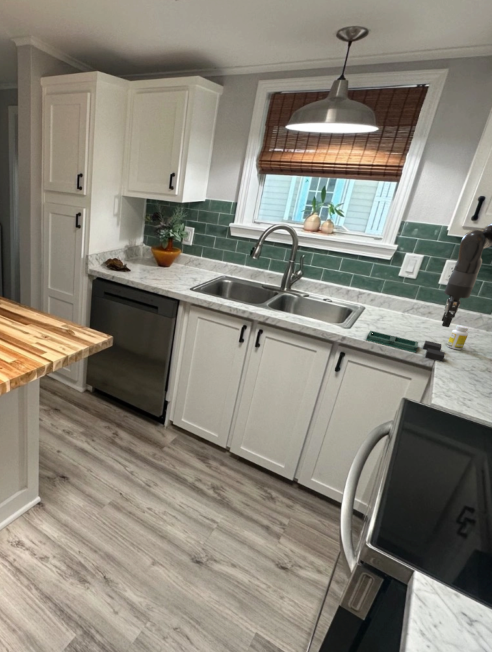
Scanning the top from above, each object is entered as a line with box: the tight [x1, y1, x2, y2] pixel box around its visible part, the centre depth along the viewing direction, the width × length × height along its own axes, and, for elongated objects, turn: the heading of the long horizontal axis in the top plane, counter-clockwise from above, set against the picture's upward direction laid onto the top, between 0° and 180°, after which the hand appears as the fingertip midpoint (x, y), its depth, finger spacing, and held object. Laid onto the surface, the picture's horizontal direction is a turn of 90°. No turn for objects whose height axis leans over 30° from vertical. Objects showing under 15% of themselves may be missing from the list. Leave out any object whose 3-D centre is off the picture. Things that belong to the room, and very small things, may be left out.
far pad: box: [422, 340, 442, 351], centre depth 173 cm, size 6×6×3 cm
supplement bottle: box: [446, 324, 469, 351], centre depth 177 cm, size 5×5×10 cm
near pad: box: [424, 348, 445, 362], centre depth 164 cm, size 6×6×3 cm
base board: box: [365, 330, 419, 354], centre depth 177 cm, size 18×12×2 cm, turn 51°
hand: (445, 323), depth 159 cm, fingers open, 8 cm apart
